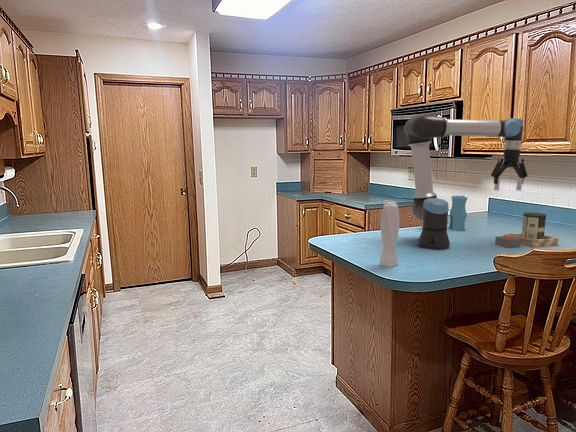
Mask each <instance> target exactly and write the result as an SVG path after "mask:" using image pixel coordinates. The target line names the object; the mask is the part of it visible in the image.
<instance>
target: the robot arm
mask: <svg viewBox="0 0 576 432" xmlns="http://www.w3.org/2000/svg"><path fill="white" fill-rule="evenodd" d="M403 131H404V134H405V136H406V139H407V145H408V146H409V147H410V148H411V157H412V158H411V159H412V167H413V168H412V169H413V177H414V178H413V179H414V185H415V186H414V188H415V194H414V195H413V197H412V198H413V203H412V205H411V210H412V211H411V212H412V213H413V215H414V216H415V217H416V218H417V219H418V220H420V221H422V227H421V228H422V229H421V233H420V235H419V237H418V240H417V246H418V247H420V248H423V249H428V250H437V251H438V250H447V249H450V245H451V243H450V239H449V238H450V237H449V235H448V219H449V218H448V217H449V211H450V210H449V202H448V201H447V200H446V199H443V198H438V196H437V193H436V192H434V188H433V187H434V186H433V175H432V165H431V156H430V144H431V143H432V139H436V138H445V136H456V137H457V136H459V137H461V136H463V137H465V136H467V137H472V136H473V137H474V136H475V137H488V138H492V137H493V138H505V140H504V147H503V148H504V150H503V154H502V155H503V158H501V157H500V158H499V157H498V159H497V163H496V164H495V166H494V167H493V170H492V172H491V174H490V176H491V177H492V178H493V184H494V185H493V186H494V187H493V190H494V191H500V184H501V183H500V182H501V178H500V176H501V175H502V174H503V173H504V172H505V170H506V169H507V168H512V169H514V170H515V173H516V175H518V176H517V181H516V187H515V188H516V191H520V192H521V191H522V186H523V184H524V179H526V177H528V173H527V169H526V166H525V159H524V158H519V157H520V156H521V150H520V149H521V148H522V141H523V140H522V139H523V132H524V119H523V118H518V117H516V118H515V117H513V118H511V117H510V118H507V119H506V120H503V119H502V120H500V119H498V120H497V119H457V118H456V119H453V118H449V119H447V118H446V117H445V116H435V115H434V116H433V115H427V114H426V115H425V114H423V115H416V116H413V117H411V118H409V119H408V120H407V121H406V122H405V124H404V127H403Z"/></svg>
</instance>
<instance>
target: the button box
mask: <svg viewBox="0 0 576 432" xmlns="http://www.w3.org/2000/svg"><path fill="white" fill-rule="evenodd" d="M503 236H504V235H500V236H495V240H494V242H495V244H494V245H497V246H499V247H501V248H502V247H503V248H506V249H507V248H509V249H511V248H512V249H513V248H521V245H522V244H521V239H519V238H515V237H513V239H505V238H503Z"/></svg>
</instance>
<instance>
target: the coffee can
mask: <svg viewBox="0 0 576 432" xmlns="http://www.w3.org/2000/svg"><path fill="white" fill-rule="evenodd" d="M522 215H523V217H522V218H523V219H522V230H521V231H522V232H521V233H522V237H525V238H529V239H532V240H534V239H544V235H545V233H546V232H545V230H546V221H547V220H546V219H547V214H545V213H540V212H539V213H538V212H523V214H522Z"/></svg>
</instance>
